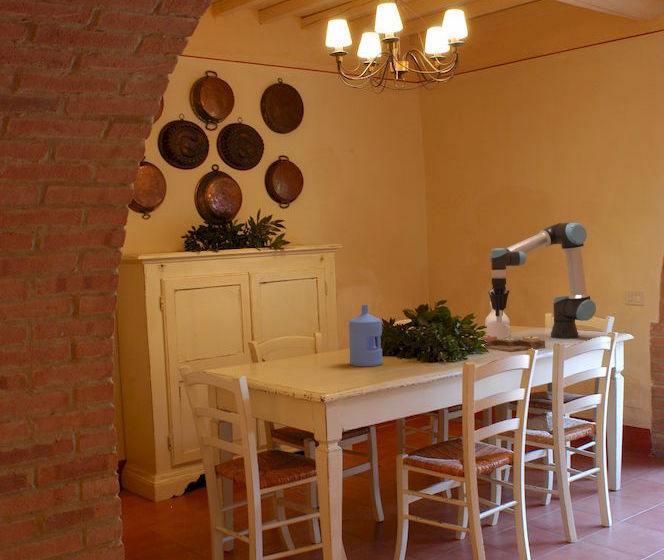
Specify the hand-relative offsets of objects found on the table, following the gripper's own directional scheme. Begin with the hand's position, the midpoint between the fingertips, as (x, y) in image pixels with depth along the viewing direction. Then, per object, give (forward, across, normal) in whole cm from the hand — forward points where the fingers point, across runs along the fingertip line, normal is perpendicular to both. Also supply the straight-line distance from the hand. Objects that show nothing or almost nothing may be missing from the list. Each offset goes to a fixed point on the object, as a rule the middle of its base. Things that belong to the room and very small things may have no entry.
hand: (499, 322), depth 446 cm
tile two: (+10, +3, -5) cm, 12 cm away
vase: (+13, -30, -34) cm, 47 cm away
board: (+13, -4, +4) cm, 14 cm away
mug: (+13, -19, -19) cm, 30 cm away
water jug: (+14, +85, +1) cm, 86 cm away
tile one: (+11, -4, +4) cm, 12 cm away
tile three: (+10, -10, +13) cm, 19 cm away
